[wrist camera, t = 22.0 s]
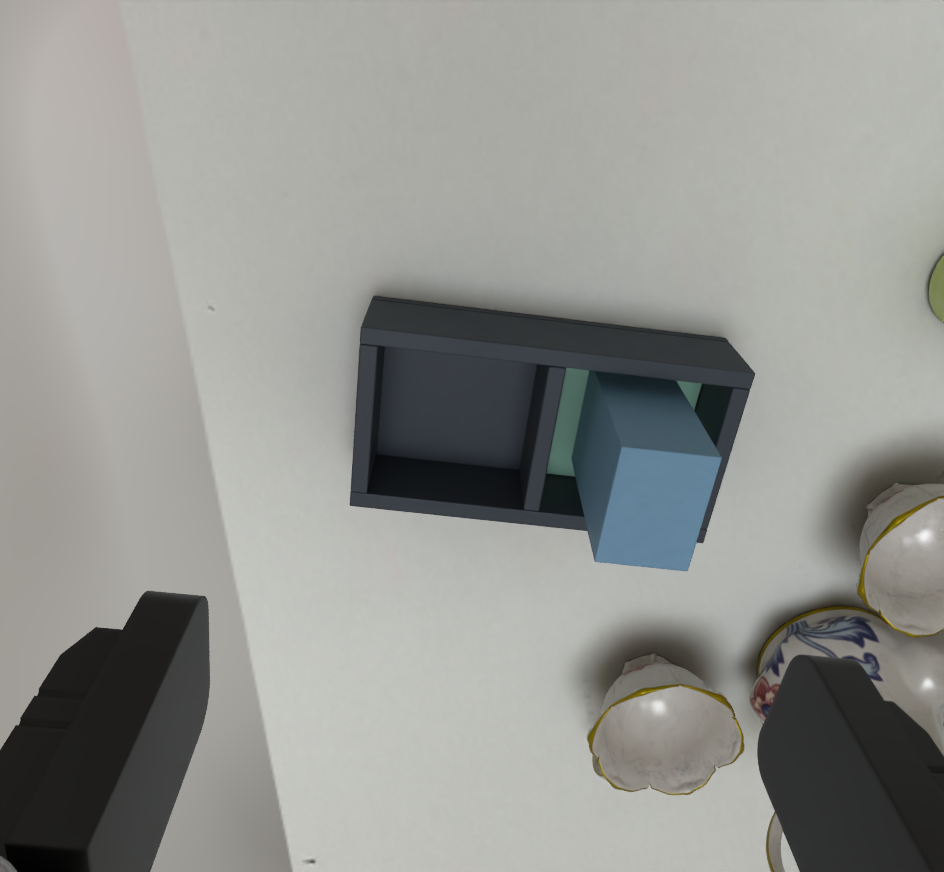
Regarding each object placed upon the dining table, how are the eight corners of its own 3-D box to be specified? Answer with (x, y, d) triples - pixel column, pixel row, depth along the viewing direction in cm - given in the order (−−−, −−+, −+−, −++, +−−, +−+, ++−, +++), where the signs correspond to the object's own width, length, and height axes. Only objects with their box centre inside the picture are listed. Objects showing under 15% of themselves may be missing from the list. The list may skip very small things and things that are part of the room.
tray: (681, 495, 43) (703, 543, 39) (361, 460, 42) (349, 506, 38) (726, 337, 39) (755, 373, 35) (373, 295, 38) (360, 326, 34)
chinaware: (906, 379, 41) (1119, 542, 26) (1095, 568, 45) (1382, 810, 29) (542, 681, 51) (542, 929, 36) (719, 818, 54) (789, 1097, 39)
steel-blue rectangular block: (570, 459, 41) (594, 562, 33) (591, 361, 38) (621, 446, 30) (646, 467, 41) (687, 571, 33) (671, 370, 39) (722, 457, 31)
